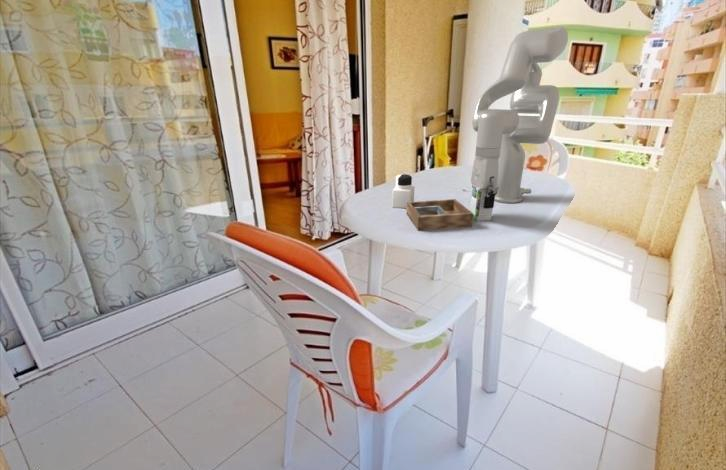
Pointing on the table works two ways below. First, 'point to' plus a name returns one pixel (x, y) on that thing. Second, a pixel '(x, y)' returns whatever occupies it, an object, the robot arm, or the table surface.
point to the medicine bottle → (403, 191)
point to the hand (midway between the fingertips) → (481, 203)
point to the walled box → (439, 214)
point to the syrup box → (479, 205)
